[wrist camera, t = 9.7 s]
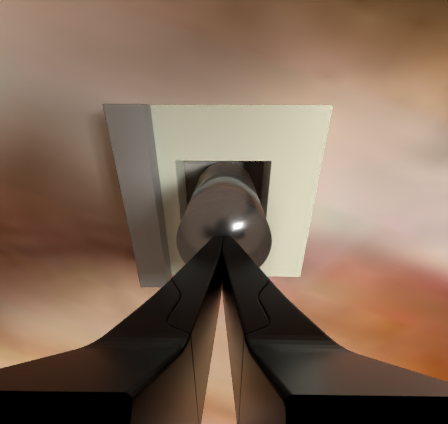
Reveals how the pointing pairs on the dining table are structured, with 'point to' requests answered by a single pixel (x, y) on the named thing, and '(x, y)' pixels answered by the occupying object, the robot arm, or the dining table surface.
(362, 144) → the dining table surface
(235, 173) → the metal cylinder rod
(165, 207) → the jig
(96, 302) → the dining table surface
